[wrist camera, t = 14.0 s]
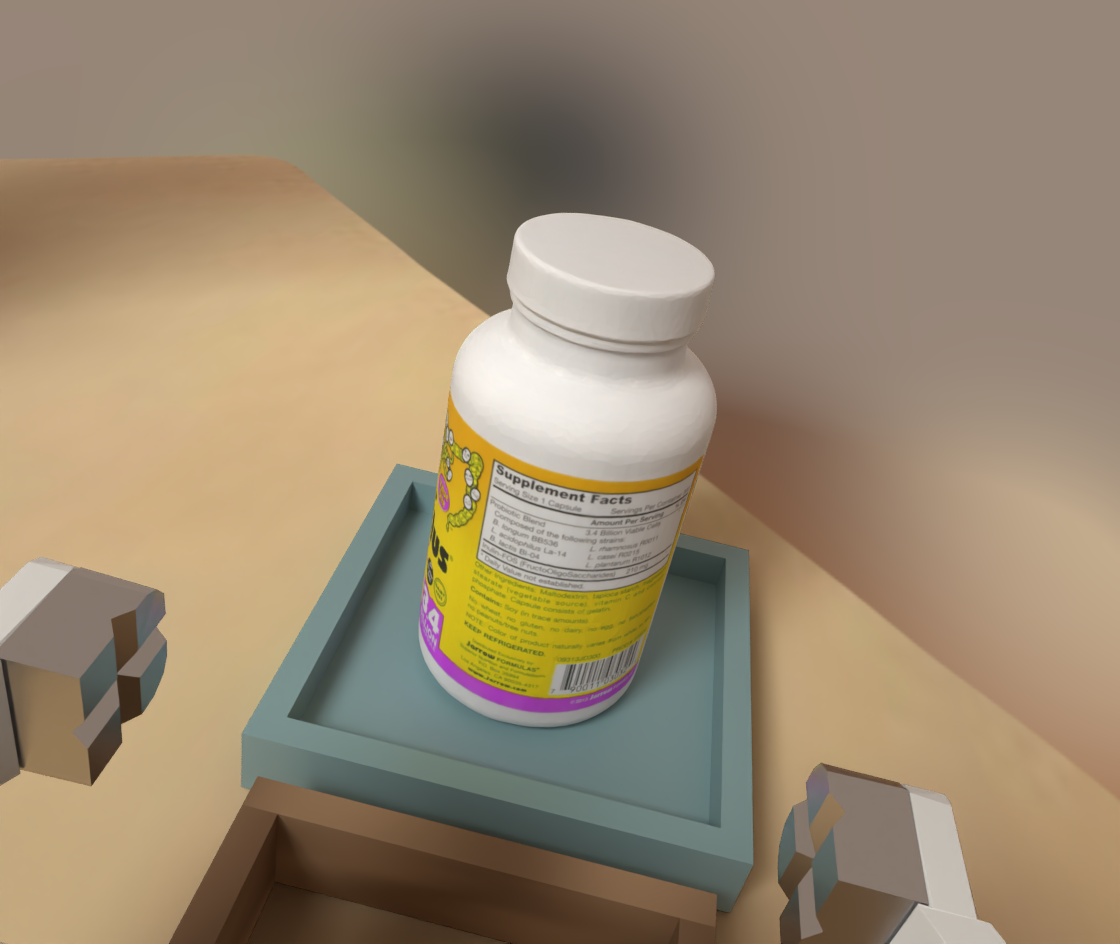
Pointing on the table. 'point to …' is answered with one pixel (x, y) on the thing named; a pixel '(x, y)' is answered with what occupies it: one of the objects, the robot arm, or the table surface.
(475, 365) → the supplement bottle
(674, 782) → the tray
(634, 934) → the brown wooden tray
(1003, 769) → the table surface
